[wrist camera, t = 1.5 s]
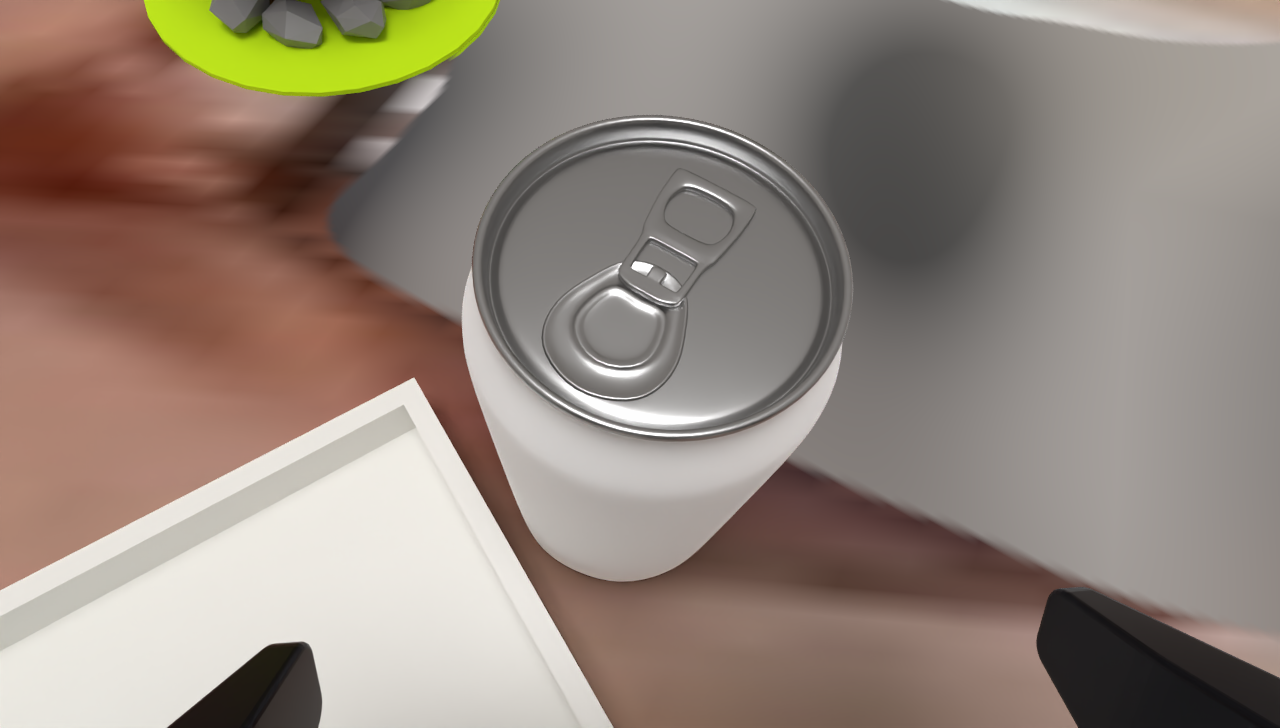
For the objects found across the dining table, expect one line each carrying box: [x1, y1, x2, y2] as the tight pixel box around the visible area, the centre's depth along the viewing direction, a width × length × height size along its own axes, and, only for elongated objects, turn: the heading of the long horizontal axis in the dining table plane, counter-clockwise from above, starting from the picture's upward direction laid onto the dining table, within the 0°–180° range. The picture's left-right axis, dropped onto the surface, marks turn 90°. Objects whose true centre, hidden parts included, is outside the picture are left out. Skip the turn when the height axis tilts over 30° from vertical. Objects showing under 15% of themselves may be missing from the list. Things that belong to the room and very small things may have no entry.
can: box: [462, 115, 853, 582], centre depth 15 cm, size 6×6×12 cm
